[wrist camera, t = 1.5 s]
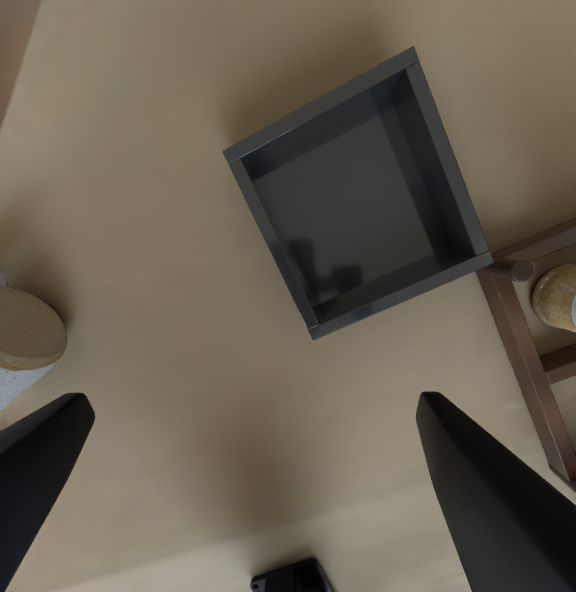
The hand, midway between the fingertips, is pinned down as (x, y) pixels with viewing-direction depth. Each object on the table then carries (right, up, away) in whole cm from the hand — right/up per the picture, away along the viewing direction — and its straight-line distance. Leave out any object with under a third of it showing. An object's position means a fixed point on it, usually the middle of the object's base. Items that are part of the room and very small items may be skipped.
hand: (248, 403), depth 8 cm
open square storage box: (+5, +9, +13) cm, 16 cm away
